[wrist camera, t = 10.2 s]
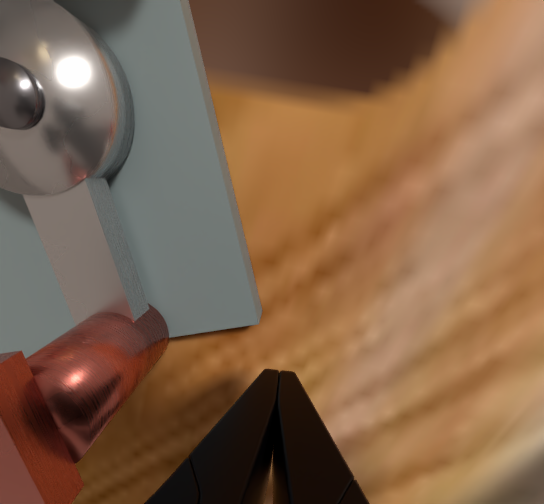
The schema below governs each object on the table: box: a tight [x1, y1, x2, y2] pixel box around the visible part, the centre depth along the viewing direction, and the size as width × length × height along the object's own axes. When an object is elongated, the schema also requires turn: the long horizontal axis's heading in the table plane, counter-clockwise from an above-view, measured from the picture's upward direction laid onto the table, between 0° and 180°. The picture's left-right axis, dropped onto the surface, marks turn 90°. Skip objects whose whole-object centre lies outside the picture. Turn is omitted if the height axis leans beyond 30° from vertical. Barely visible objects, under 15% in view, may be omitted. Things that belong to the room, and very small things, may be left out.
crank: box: [0, 0, 169, 504], centre depth 7 cm, size 12×5×5 cm, turn 12°
